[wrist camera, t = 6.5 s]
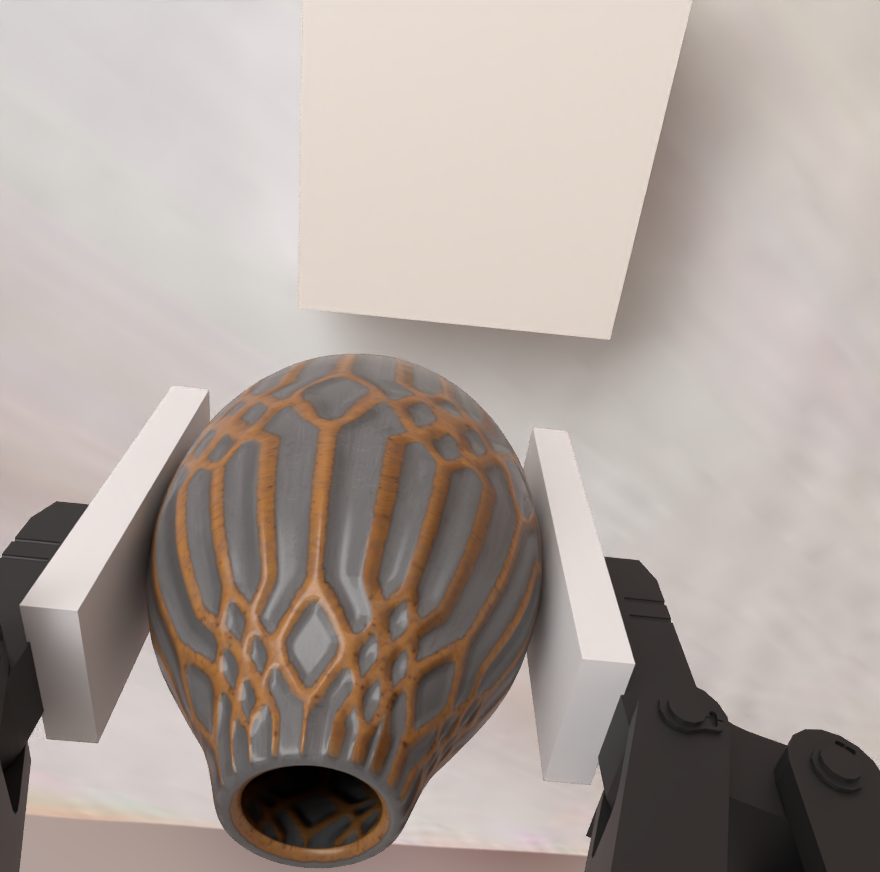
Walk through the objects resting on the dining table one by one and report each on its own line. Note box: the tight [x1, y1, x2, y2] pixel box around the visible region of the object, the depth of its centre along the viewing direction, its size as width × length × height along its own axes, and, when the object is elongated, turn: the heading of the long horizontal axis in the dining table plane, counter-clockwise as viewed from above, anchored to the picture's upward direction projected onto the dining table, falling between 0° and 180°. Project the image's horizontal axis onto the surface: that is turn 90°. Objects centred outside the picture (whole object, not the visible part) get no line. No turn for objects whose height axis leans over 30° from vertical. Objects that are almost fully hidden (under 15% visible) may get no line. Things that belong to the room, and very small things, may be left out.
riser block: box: [298, 0, 693, 340], centre depth 28 cm, size 12×12×5 cm
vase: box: [147, 354, 542, 868], centre depth 13 cm, size 7×7×9 cm
